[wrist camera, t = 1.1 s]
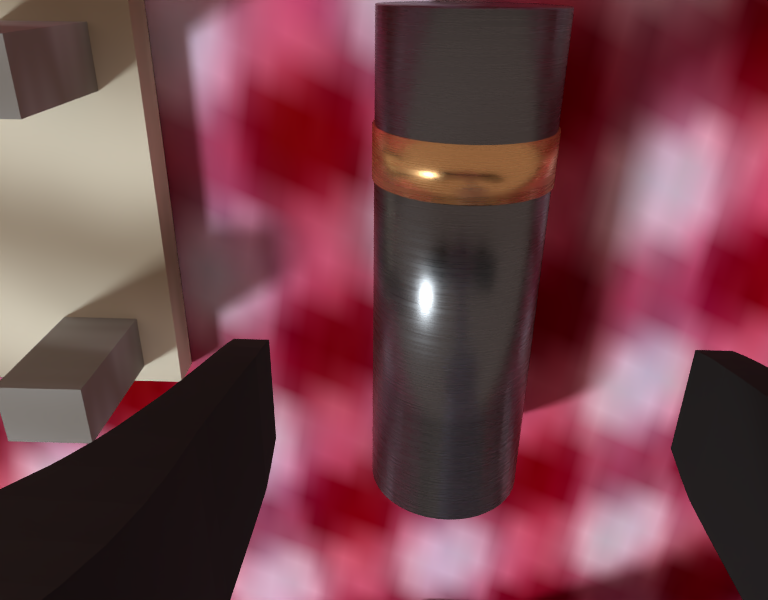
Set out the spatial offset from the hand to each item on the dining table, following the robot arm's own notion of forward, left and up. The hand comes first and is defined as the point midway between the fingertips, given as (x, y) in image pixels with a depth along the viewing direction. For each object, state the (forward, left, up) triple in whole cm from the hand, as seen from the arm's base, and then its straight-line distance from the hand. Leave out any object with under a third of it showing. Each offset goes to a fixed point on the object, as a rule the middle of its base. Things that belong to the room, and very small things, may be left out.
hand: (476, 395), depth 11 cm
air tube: (0, 0, -7) cm, 7 cm away
